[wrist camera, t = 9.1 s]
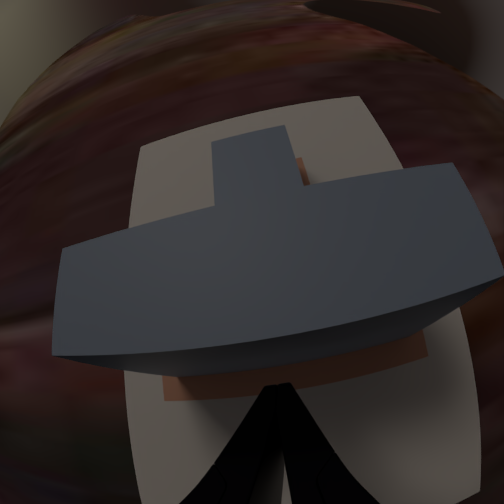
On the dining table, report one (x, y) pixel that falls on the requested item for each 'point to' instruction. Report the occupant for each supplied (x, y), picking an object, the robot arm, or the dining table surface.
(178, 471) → the t mat
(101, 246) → the t block
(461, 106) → the dining table surface
